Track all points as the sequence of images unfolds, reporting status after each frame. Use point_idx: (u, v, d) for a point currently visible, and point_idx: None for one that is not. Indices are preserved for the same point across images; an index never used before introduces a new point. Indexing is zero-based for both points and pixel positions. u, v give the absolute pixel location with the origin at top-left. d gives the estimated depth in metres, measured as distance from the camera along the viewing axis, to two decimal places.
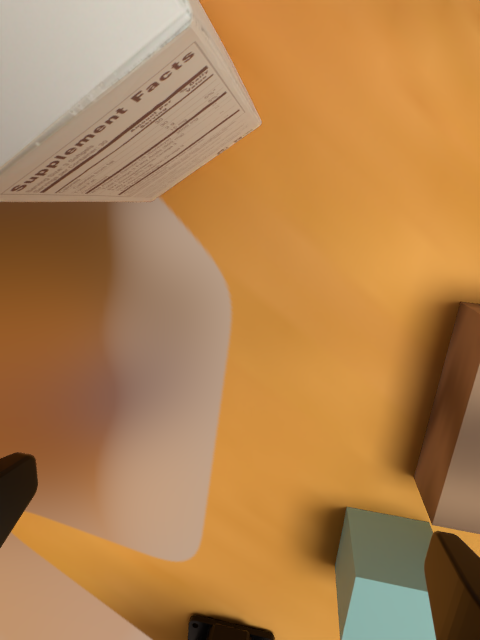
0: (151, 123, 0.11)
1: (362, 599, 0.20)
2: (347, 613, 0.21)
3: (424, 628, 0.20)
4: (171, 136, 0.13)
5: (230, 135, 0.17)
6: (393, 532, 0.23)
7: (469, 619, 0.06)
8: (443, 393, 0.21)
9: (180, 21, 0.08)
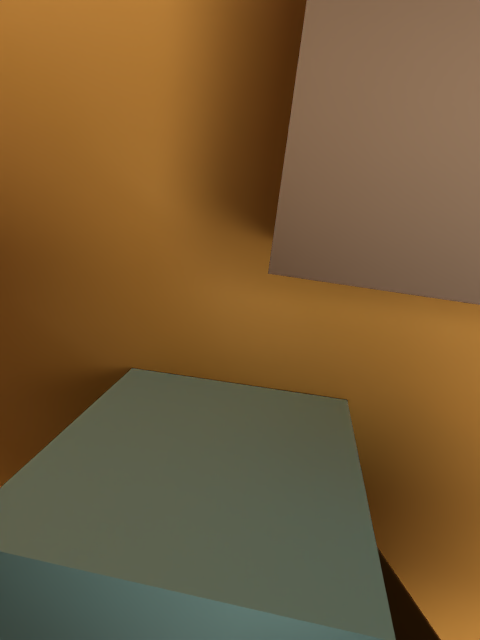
0: None
1: (2, 639, 0.05)
2: None
3: None
4: None
5: None
6: (226, 417, 0.07)
7: None
8: None
9: None
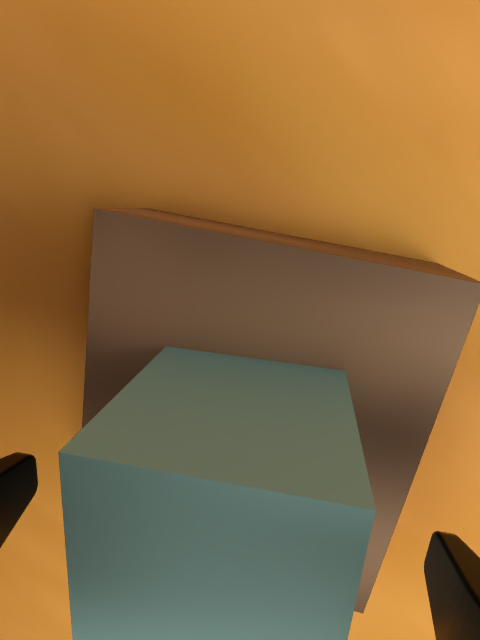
0: None
1: (94, 529, 0.07)
2: (71, 575, 0.07)
3: (284, 618, 0.06)
4: None
5: None
6: (247, 381, 0.09)
7: (469, 619, 0.06)
8: None
9: None
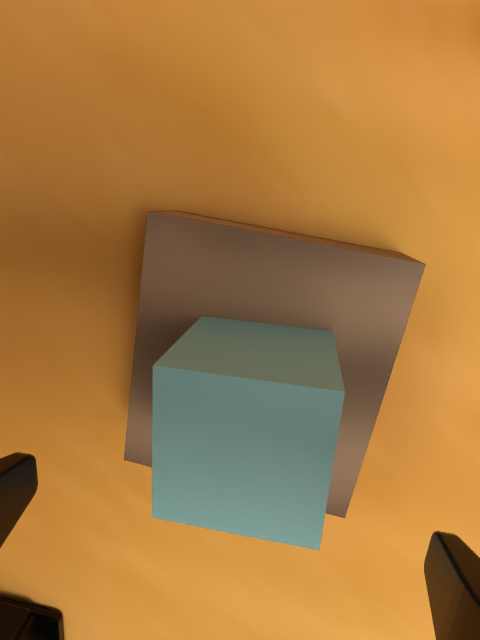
0: None
1: (172, 416, 0.11)
2: (153, 452, 0.11)
3: (291, 469, 0.10)
4: None
5: None
6: (263, 335, 0.13)
7: (469, 619, 0.06)
8: None
9: None
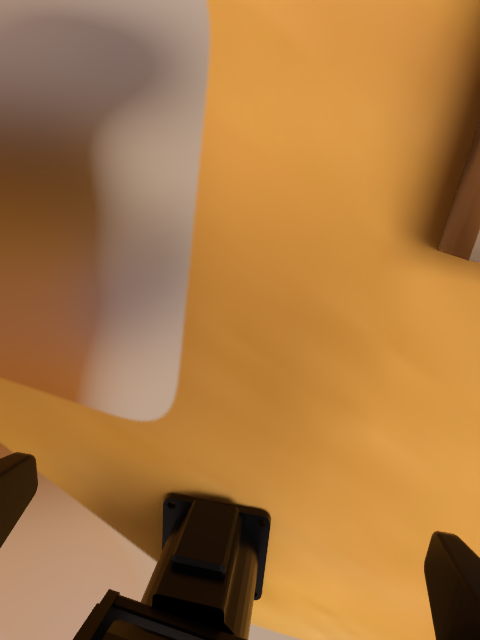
0: None
1: None
2: None
3: None
4: None
5: None
6: None
7: (469, 619, 0.06)
8: None
9: None
